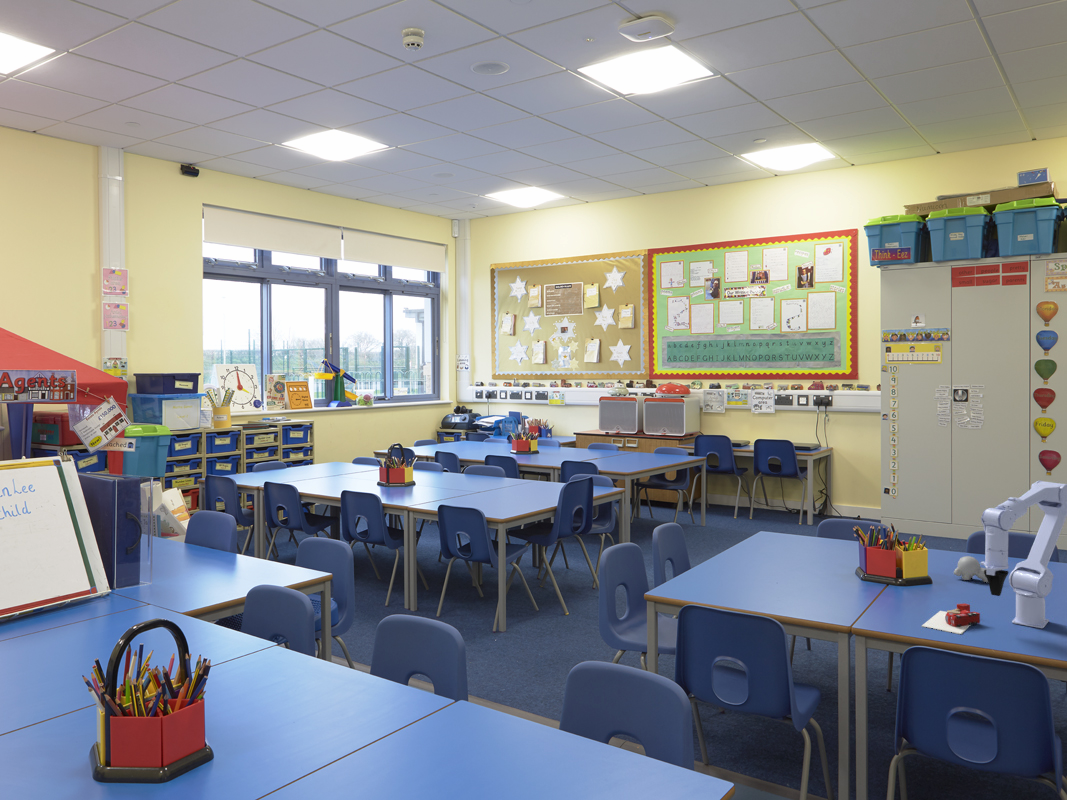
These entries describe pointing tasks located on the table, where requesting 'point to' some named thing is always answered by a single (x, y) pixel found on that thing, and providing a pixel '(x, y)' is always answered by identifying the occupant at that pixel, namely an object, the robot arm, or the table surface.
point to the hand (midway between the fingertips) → (995, 595)
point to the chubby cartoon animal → (970, 569)
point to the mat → (943, 624)
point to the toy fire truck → (962, 616)
